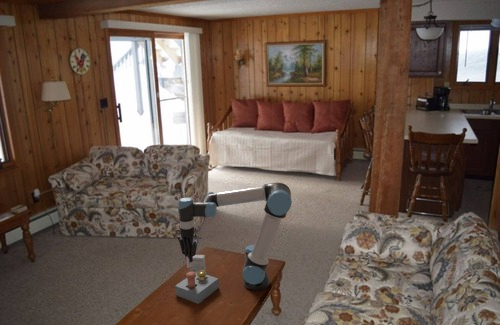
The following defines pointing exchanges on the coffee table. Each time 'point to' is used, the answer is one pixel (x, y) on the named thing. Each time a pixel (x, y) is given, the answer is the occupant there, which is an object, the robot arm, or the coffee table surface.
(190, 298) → the socket board
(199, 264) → the ink box
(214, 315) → the coffee table surface
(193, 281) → the rust plug
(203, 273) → the brass plug
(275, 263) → the coffee table surface
